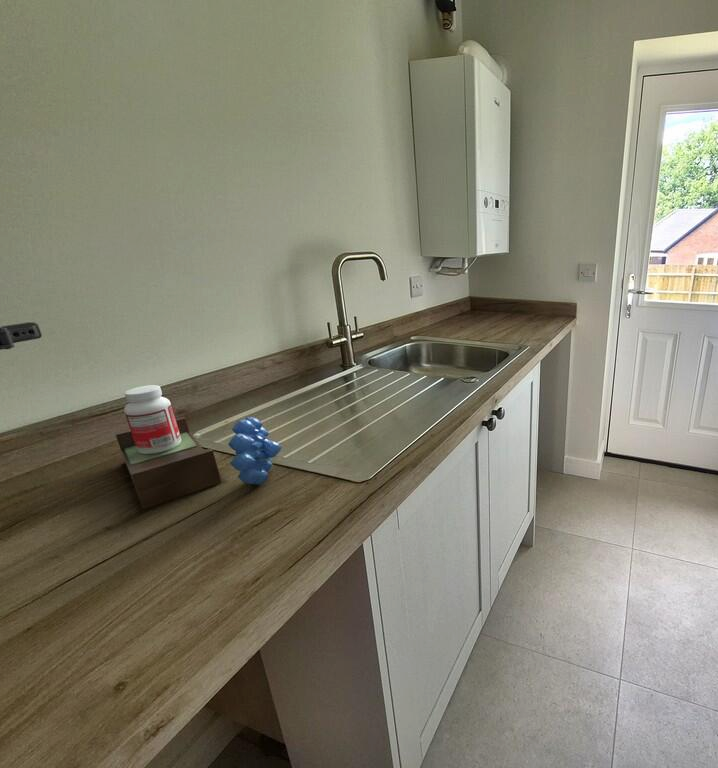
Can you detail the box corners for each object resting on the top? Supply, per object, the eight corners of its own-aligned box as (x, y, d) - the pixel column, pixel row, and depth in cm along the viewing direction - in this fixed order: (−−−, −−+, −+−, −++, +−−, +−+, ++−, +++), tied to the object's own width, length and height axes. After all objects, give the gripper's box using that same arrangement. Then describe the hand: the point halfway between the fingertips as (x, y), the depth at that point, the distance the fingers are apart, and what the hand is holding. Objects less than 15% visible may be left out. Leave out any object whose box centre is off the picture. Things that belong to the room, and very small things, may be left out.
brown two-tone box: (143, 509, 61) (131, 474, 59) (125, 462, 75) (114, 432, 73) (221, 482, 68) (213, 450, 66) (192, 444, 82) (184, 416, 80)
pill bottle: (158, 439, 76) (140, 383, 73) (190, 439, 76) (174, 383, 73) (128, 455, 71) (107, 395, 67) (163, 455, 70) (144, 395, 67)
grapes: (279, 498, 64) (264, 428, 60) (230, 505, 62) (211, 434, 58) (295, 462, 74) (283, 401, 70) (253, 468, 73) (239, 405, 69)
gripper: (-159, 325, 39) (45, 302, 54) (-272, 321, 41) (-44, 300, 56) (-119, 398, 41) (65, 356, 57) (-228, 392, 43) (-20, 353, 58)
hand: (11, 328), depth 56 cm, fingers open, 8 cm apart
